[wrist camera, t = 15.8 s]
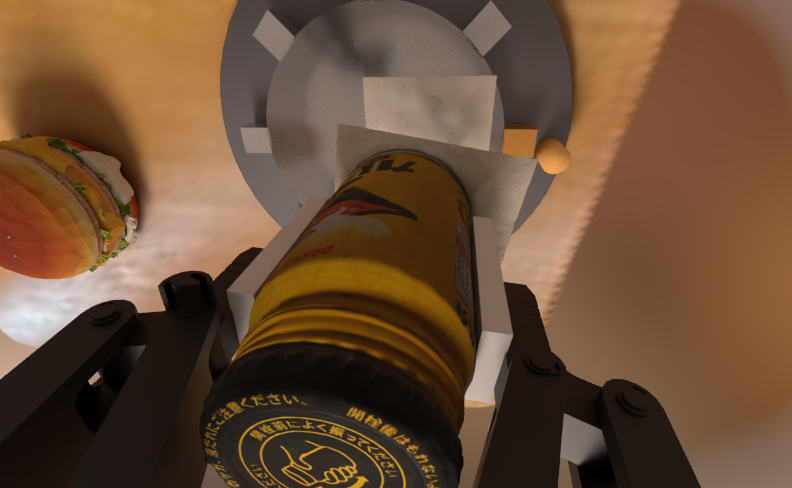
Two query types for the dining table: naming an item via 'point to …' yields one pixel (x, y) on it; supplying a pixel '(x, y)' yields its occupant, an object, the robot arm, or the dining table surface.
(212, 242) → the dining table surface
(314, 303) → the condiment
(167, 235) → the dining table surface
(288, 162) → the grey disc with blocks
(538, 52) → the base
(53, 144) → the burger
